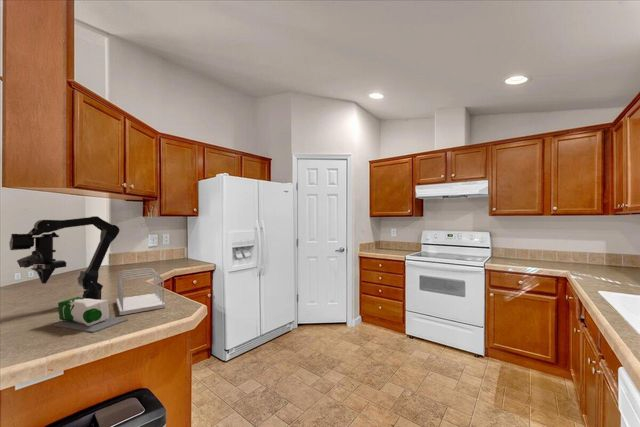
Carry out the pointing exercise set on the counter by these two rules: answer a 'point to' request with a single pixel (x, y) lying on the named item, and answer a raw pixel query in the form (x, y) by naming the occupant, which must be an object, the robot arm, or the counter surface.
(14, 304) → the counter surface
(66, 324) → the mat
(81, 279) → the robot arm
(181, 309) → the counter surface
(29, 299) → the counter surface
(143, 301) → the file sorter
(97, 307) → the soya milk
